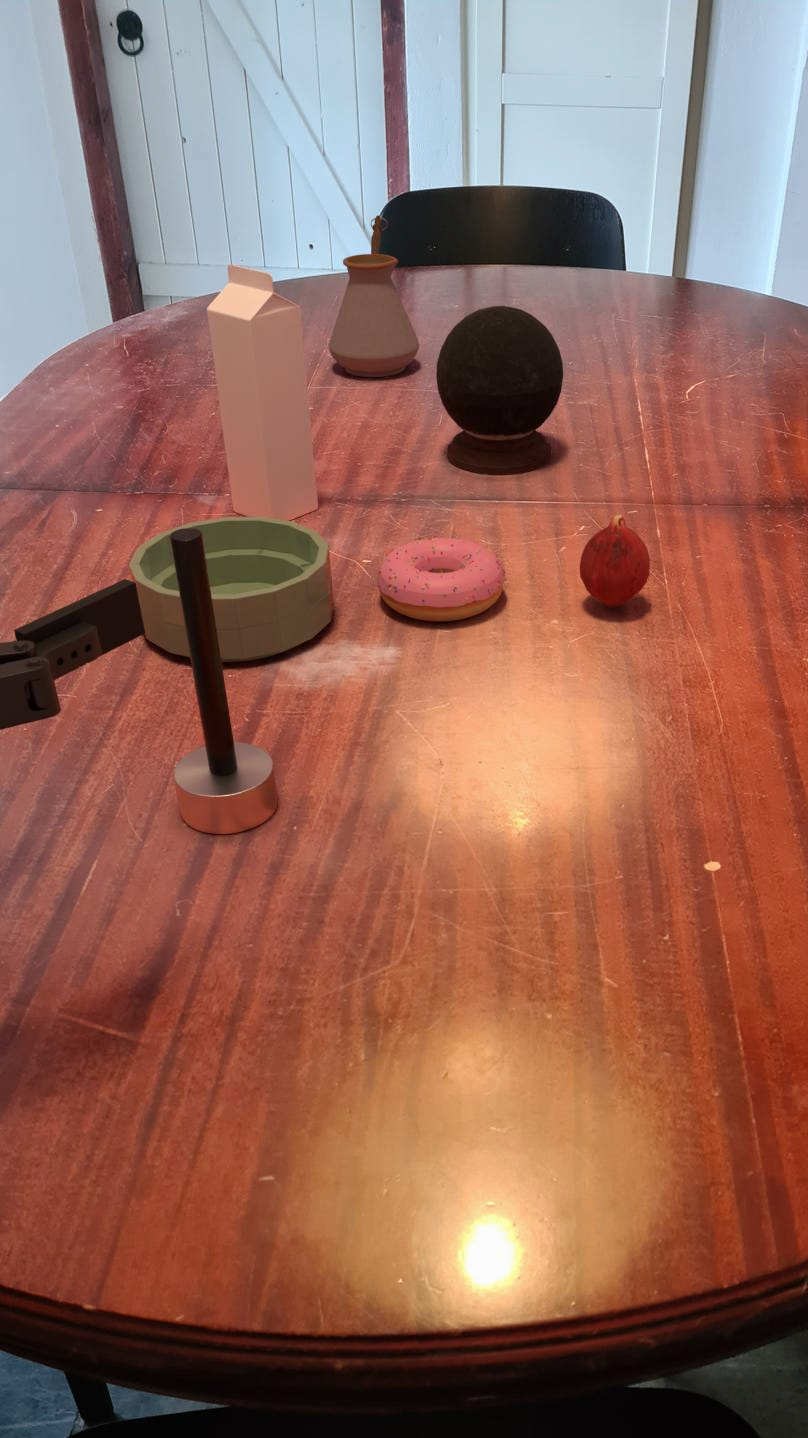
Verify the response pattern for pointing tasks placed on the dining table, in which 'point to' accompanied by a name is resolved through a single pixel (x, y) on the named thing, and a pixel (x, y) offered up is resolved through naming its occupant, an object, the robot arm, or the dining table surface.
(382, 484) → the dining table surface
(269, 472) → the milk
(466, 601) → the doughnut
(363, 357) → the coffee pot
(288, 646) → the bowl
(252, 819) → the paper towel holder
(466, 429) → the black ball on stand
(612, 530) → the onion
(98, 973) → the dining table surface
